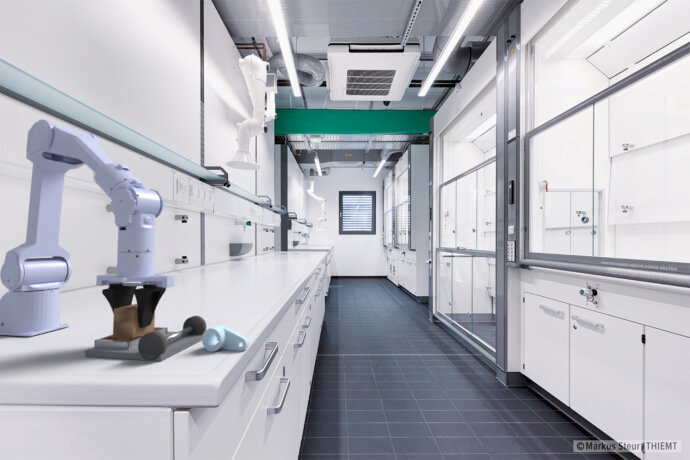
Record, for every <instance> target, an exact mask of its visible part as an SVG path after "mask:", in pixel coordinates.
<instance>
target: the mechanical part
mask: <svg viewBox="0 0 690 460" xmlns="http://www.w3.org/2000/svg"><path fill="white" fill-rule="evenodd" d="M201 342H202V345H203V347H204V349H205V350H206V351H207V352H216V351H218V350H221V349H223V350H230V351H239V352H243V351H245V350H247V349H248V348H249V346H250V342H249V339H248V338H247V336H244V335H242V334H241V333H239V332H236V331H235V330H233V329H231V328H229V327H227V326H225V325H222V324H219V325H216V326H212V327H210V328H206V331H205V332H204V333H203V336H202V340H201Z"/></svg>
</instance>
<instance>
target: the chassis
mask: <svg viewBox="0 0 690 460" xmlns="http://www.w3.org/2000/svg"><path fill="white" fill-rule="evenodd" d="M182 324H183V325H182V329H181V330H179V331H168V327H165V326H161V327H160V326H159V327H158V326H154V331H152V332H149V333H147V334H144V335H141V336H138V337H136V338H133V339H132V338H114V337H113V333H111V334H110V335H107V336H106V335H105V336H104V337H100V338H98V339H95V340H94V345H93V346H94V347H90V348H88V349H85V350H84V354H85V355H84V356H85V357H92V358H106V359H122V360H133V361H135V360H136V361H139V360H140V361H149V362H150V361H152V362H162V361H165V360H166V359H168V358H171V357H173V356H175V355H177V354H178V353H180V352H182V351H184V350H185V349H188V348H190V347H192V346H194V345H195V344H198V343H200V342H202V336H203V333H204V332H205V331H206V330H207V323H206V321H205V319H204V318H203V317H202V316H200V315H192V316H190V317H188V318H187V319H185V320H184V322H183V323H182Z"/></svg>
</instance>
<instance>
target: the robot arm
mask: <svg viewBox="0 0 690 460" xmlns="http://www.w3.org/2000/svg"><path fill="white" fill-rule="evenodd" d="M101 146H102V144H101V140H100V139H98V138H97V136H96V135H95V134H93V133H88V132H84V131H80V130H77V129H74V128H69V127H67V126H64V125H60V124H57V123H54V122H52V121H49V120H47V119H40V120H37V121H36V122H34V124H32V125H31V127H30V128H29V130H28V131H27V140H26V149H25V153H26V155H25V158H26V159H27V160H28V161H29V162H31V163H32V170H31V181H30V182H31V183H30V190H29V191H30V193H29V204H28V214H27V222H26V223H27V225H26V227H27V228H26V235H25V242H23V243H21V244H19V245H18V246H16V247H14V248H12V249H10V250H8V251H7V252H5V253H6V254H5V258H4V261H3V263H2V265H1V268H0V282H1V284H2V285H3V286H4V287H5V288H6V289H7V292H5V293H3V295H2V296H1V298H0V336H16V337H33V336H36V335H41V334H44V333H49V332H52V331H55V330H61V329H64V328H68V327H70V326H71V325H70V324H69V323H60V322H59V321H60V299H61V297H60V296H61V288H64V287H65V284H66V283H67V282H69V280H70V279H71V277H72V274H73V266H72V263H71V252H69V250H67V249H66V248H64V247H63V246H61V245H60V244H59V242H60V241H59V240H60V230H61V229H60V228H61V217H62V207H63V206H62V205H63V196H64V185H65V176H66V175H65V174H66V173H68V172H69V171H70V170H75V169H76V170H77V169H79V168H81V167H82V166H84V165H86V166H87V167H88V168H89V169H90V170H91V171H92V172H93V173H94V177H93V178H94V181H95V183H96V184H97V186H98V187H100V189H101V190H102V191H103V192H104V194H106V196H108V197H109V199H110V200H111V201H110V208H111V212H112V213H113V215H114V224H115V226H116V227H117V252H116V253H117V254H116V255H117V256H116V257H117V258H116V273H115V274H100V275H99V274H98V275H96V285H95V286H98V287H102V286H103V287H104V286H108V287H107V288H104V289H103V288H102V291H101V293H102V295H103V296H104V298H105V299H106V300H107V302H108V304H109V305H110V308H111V311H112V314H113V315H114V309H116V308H120V307H124V306H129V305H133V304H132V303H133V299H134V297H135V301H136V304H137V306H138V323H139V328H144V327H147V326H149V325H151V322H152V319H153V315H154V312H155V313H156V309H157V306H158V305H159V302H160V300H161V298H162V297H163V295H164V294H165V293H166V291H167V289H168V288H173V287H175V275H163V274H154V271H155V241H156V240H155V239H156V237H155V235H156V219H157V218H158V217H159V216H161V213H162V212H163V209H164V199H163V197H162V195H161V194H160V192H159V190H157V189H152V188H151V189H148V187H145V186H144V185H143V182H142V181H141V180H140V179H137V178H136V177H135V175H134V174H133V173H132V172H130V168H129V166H128V165H127V164H126V165H125V164H123V163H117V162H116V163H115V162H113V161H112V160H111V158H109V156H108V155H107V154H106V153H105V151H104V150H103V148H102V147H101ZM137 287H138V288H137ZM139 287H140V288H139Z"/></svg>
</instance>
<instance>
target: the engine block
mask: <svg viewBox="0 0 690 460" xmlns="http://www.w3.org/2000/svg"><path fill="white" fill-rule="evenodd" d="M155 315H156V311H155V312H154V315H153V319H152V322H151V325H149V326H147V327H144V328H139V323H138V306H137V303H134V304H132V305H129V306H124V307H120V308H116V309H114V314H113V322H112V324H113V325H112V334H113V337H114V338H132V339H133V338H136V337H138V336H141V335H144V334H147V333H149V332H152V331H154V327H155V319H156V317H155Z"/></svg>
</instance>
